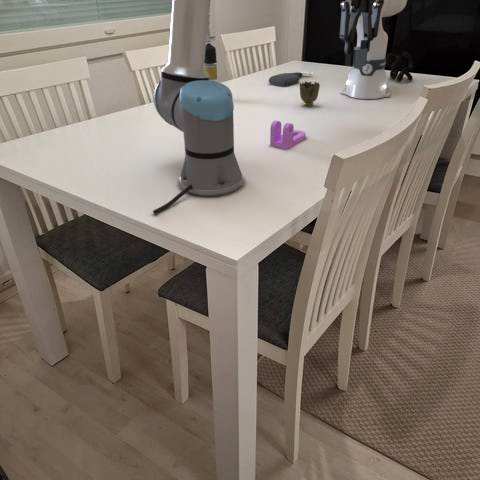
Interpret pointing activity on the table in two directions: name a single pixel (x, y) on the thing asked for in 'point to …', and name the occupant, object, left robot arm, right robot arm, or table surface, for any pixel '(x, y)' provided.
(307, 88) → the cup
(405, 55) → the squiggle
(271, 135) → the bracket
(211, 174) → the left robot arm
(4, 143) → the table surface
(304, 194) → the table surface
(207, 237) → the table surface
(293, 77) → the spray bottle
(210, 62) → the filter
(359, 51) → the block
